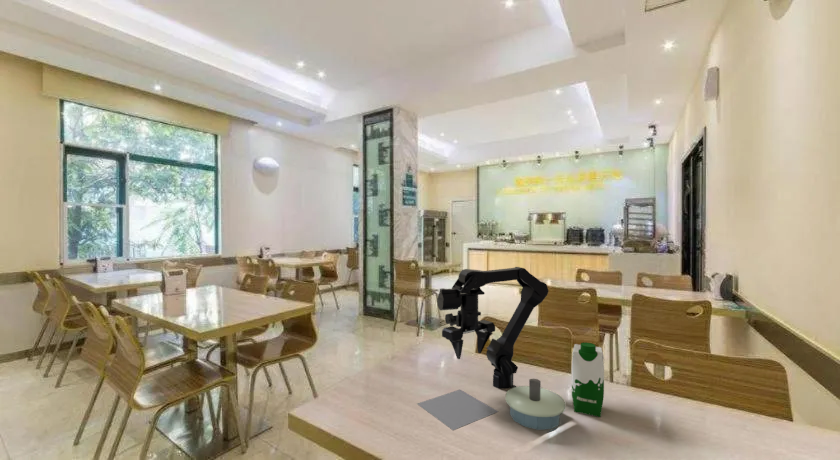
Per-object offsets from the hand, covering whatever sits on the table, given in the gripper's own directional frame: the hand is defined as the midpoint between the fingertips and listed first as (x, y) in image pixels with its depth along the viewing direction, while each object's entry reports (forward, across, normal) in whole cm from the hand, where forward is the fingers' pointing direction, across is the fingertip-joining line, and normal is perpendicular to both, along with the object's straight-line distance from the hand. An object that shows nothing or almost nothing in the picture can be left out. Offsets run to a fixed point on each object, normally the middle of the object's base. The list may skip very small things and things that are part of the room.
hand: (469, 355), depth 119 cm
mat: (+12, +11, +7) cm, 18 cm away
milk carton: (+12, -22, +28) cm, 38 cm away
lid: (+7, -4, +23) cm, 24 cm away
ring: (+12, -4, +23) cm, 26 cm away
